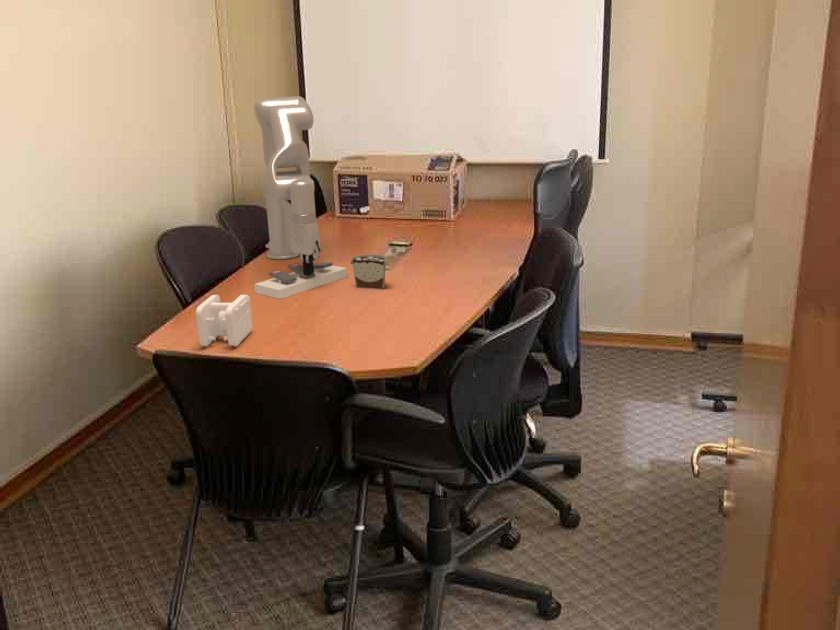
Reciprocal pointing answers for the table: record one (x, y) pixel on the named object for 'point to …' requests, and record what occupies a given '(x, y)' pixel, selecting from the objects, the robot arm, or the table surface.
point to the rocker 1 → (282, 276)
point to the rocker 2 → (300, 270)
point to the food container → (369, 271)
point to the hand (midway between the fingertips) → (308, 273)
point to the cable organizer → (224, 320)
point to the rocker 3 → (322, 264)
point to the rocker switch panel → (300, 282)
